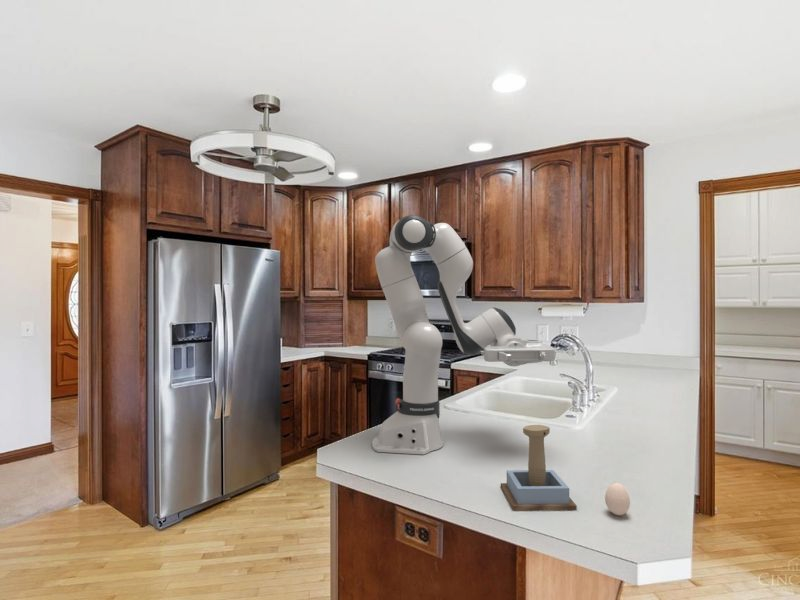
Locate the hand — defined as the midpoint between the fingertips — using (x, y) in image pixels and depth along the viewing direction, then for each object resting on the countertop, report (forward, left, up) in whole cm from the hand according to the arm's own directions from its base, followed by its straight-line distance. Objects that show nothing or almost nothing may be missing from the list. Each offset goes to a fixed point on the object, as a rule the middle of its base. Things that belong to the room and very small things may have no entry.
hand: (525, 357), depth 124 cm
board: (-3, -19, -30) cm, 36 cm away
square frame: (-3, -19, -30) cm, 36 cm away
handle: (-3, -18, -29) cm, 35 cm away
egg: (+12, -27, -30) cm, 42 cm away
